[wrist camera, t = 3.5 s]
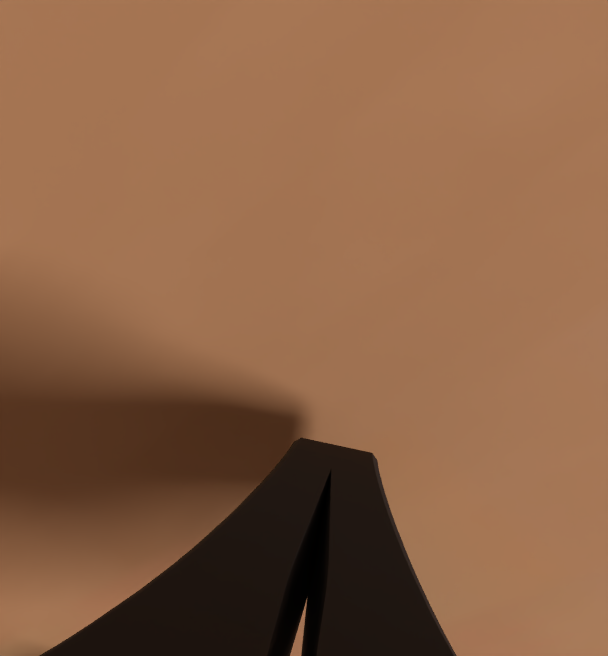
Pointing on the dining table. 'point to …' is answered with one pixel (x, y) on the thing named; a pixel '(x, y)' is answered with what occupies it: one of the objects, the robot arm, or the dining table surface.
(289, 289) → the dining table surface
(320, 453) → the robot arm
